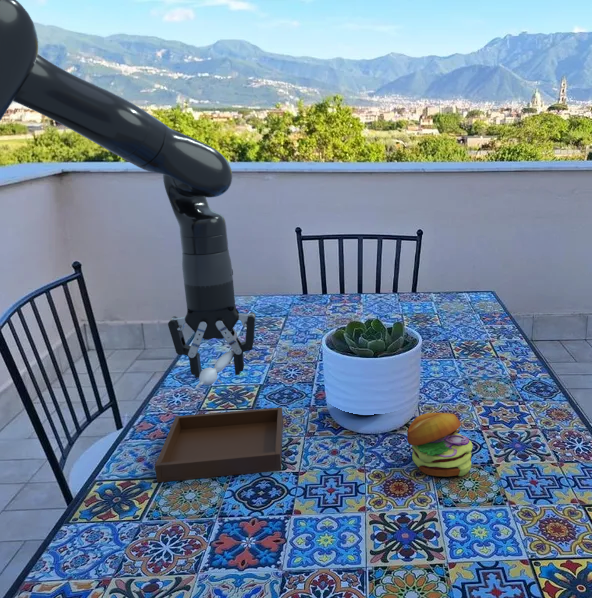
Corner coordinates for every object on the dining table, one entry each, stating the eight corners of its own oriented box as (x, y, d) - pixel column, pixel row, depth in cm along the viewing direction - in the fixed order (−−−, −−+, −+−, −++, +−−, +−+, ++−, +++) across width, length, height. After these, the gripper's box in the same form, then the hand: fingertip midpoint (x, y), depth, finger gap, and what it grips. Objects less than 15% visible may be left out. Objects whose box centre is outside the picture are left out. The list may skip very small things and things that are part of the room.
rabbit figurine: (186, 386, 94) (219, 353, 99) (203, 401, 95) (235, 368, 100) (193, 379, 90) (228, 344, 94) (211, 395, 90) (245, 360, 95)
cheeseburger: (450, 491, 87) (438, 430, 86) (400, 479, 94) (388, 423, 93) (487, 462, 94) (476, 406, 93) (438, 453, 101) (427, 401, 100)
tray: (157, 482, 90) (154, 465, 89) (177, 430, 106) (175, 416, 105) (281, 470, 93) (279, 453, 92) (283, 421, 109) (282, 407, 108)
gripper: (155, 286, 86) (169, 387, 90) (252, 281, 88) (260, 380, 93) (166, 274, 93) (178, 369, 98) (255, 270, 95) (263, 363, 100)
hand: (218, 374), depth 95 cm, fingers closed on rabbit figurine, 6 cm apart
